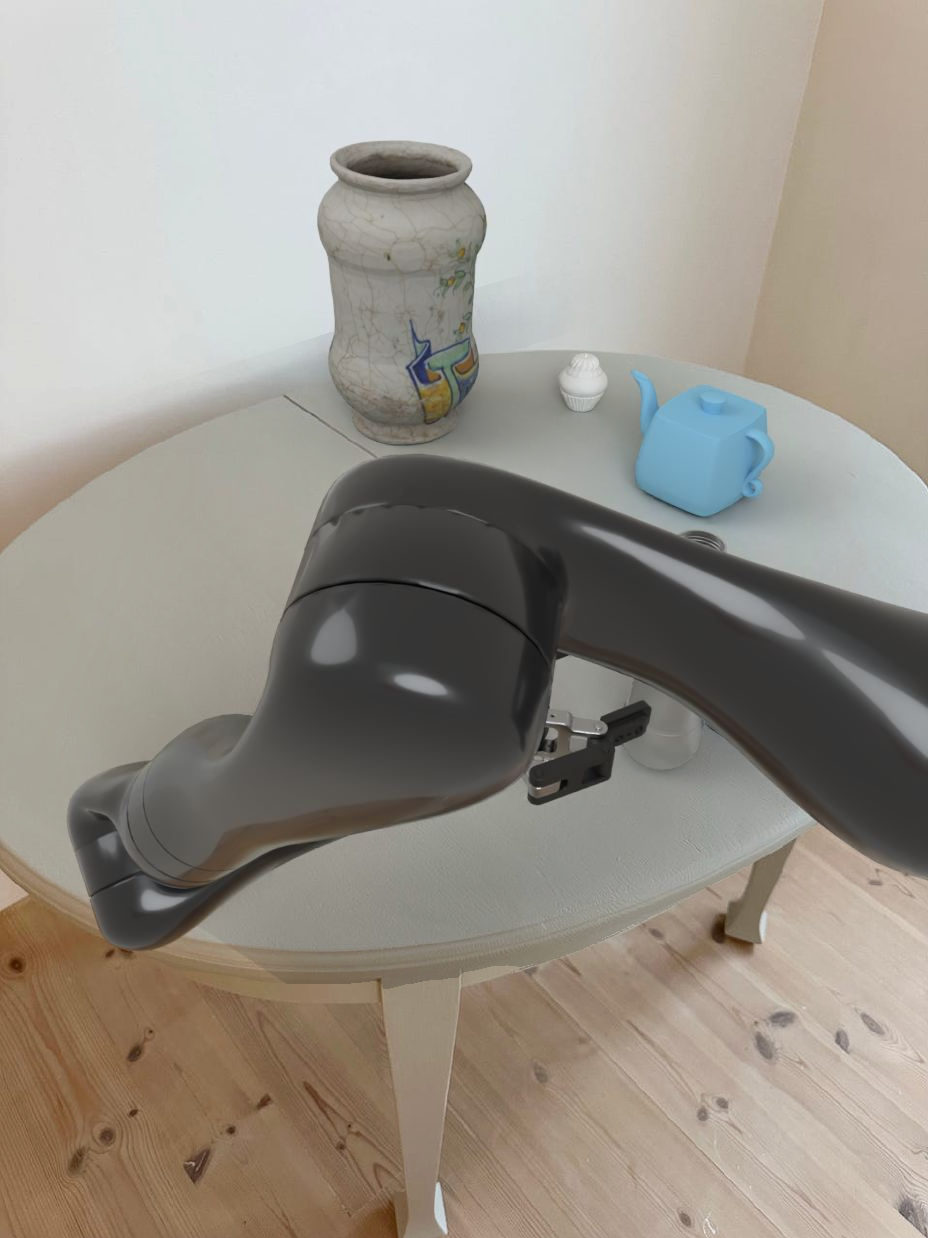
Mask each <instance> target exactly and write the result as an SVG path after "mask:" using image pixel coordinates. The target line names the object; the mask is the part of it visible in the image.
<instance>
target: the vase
mask: <svg viewBox="0 0 928 1238" xmlns="http://www.w3.org/2000/svg"><path fill="white" fill-rule="evenodd" d="M329 166H330V170H331V171H332V172H333V173H334V175H335V176H336V177H337V178H338V179H337V181H335V182H334V183H333V184H332V185H331V187H329V188H328V190H327V191H326V192H325V194H324V195H323V197H322V199H321V201H320V203H319V205H318V210H317V216H316V217H317V218H316V219H317V220H316V223H317V226H316V227H317V231H318V236H319V239H320V243H321V245H322V247H323V250H324V251H325V253H326V256H327V263H328V270H329V271H328V273H329V281H330V282H329V283H330V290H331V297H332V303H333V315H334V317H333V319H334V334H333V336H332V340H331V343H330V346H329V350H328V358H327V359H328V363H327V364H328V370H329V373H330V377H331V381H332V382H333V384H334V387H335V389H336V391H337V392H338V393H339V395H340V396H341V397H342V399H343V400H344V402H345V403H346V404H347V405H348V406H349V407H350V408H352V409H353V410H352V413H351V414H352V416H351V417H352V422H353V424H354V426H355V428H356V429H357V431H358V432H359V433H361V434H362V435H363V436H365V437H367V438H368V439H370V440H373V441H376V442H378V443H384V444H387V445H413V444H424V443H427V442H433V441H435V440H437V439H440V438H441V437H443V436H446V435H447V434H448V433H449V432H451V431H452V430H453V429H454V428H455V426H456V424H457V422H458V412H457V410H456V408H457V406H459V405H460V404H461V403H462V402H463V401H464V400H465V398H466V397H467V396H468V395H469V393H470V392H471V390H472V389H473V387H474V385H475V383H476V380H477V378H478V375H479V369H480V360H479V359H480V357H479V356H480V355H479V350H478V346H477V341H476V338H475V335H474V333H473V315H474V312H473V311H474V299H475V297H474V296H475V285H476V284H475V283H476V264H477V263H476V262H477V258H478V255H479V253H480V251H481V249H482V247H483V244H484V242H485V239H486V235H487V227H488V220H487V213H486V210H485V206H484V204H483V202H482V200H481V198H480V197H479V196H478V195H477V194H476V192H475V190H474V189H473V188H472V187H471V186H470V185H469V184H468V183H467V182H466V181H467V179H468V178H469V177H470V175H471V173H472V171H473V162H472V160H471V158H470V157H469V156H468V155H467V154H465V153H464V152H462V151H460V150H459V149H457V148H453V147H449V146H446V145H442V144H436V143H430V142H421V141H414V140H375V141H374V140H373V141H372V140H371V141H361V142H356V143H352V144H348V145H344V146H343V147H340V148H338V149H336V150H335V151H334V152H333V153H331V155H330V156H329Z"/></svg>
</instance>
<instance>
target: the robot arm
mask: <svg viewBox="0 0 928 1238" xmlns="http://www.w3.org/2000/svg"><path fill="white" fill-rule="evenodd" d="M677 534H678V533H674V532H672V531H669V530H666V529H664V528H661V527H658V526H656V525H654V524H651V523H648V522H647V521H644V520H640V519H638V518H635V517H633V516H630V515H628V514H626V513H623V512H620V511H617V510H615V509H612V508H609V507H607V506H605V505H603V504H599V503H597V502H594V501H592V500H589V499H587V498H584V497H582V496H579V495H576V494H574V493H571V492H568V491H567V490H563V489H561V488H558V487H555V486H552V485H550V484H547V483H544V482H542V481H539V480H536V479H533V478H530V477H527V476H524V475H522V474H521V475H520V474H518V473H514V472H512V471H508V470H507V469H506V470H505V469H502V468H499V467H496V466H493V465H489V464H486V463H482V462H479V461H473V460H470V459H465V458H459V457H451V456H445V455H444V456H443V455H436V454H428V453H427V454H426V453H404V454H401V453H400V454H387V455H383V456H379V457H376V458H371V459H369V460H365V461H362V462H360V463H358V464H356V465H355V466H353V467H351V468H350V469H348V470H347V471H345V472H343V473H342V474H341V475H340V476H339V477H337V479H335V481H334V482H333V483H332V484H331V486H330V487H329V488H328V491H327V492H326V494H325V496H324V498H323V499H322V501H321V503H320V506H319V509H318V511H317V514H316V517H315V520H314V522H313V524H312V526H311V530H310V532H309V536H308V538H307V541H306V544H305V546H304V550H303V554H302V557H301V561H300V563H299V565H298V568H297V572H296V574H295V577H294V581H293V584H292V586H291V589H290V592H289V595H288V597H287V600H286V603H285V607H284V609H283V612H282V614H281V618H280V620H279V622H278V624H277V627H276V630H275V634H274V637H273V640H272V641H273V642H272V645H271V650H270V654H269V655H270V656H269V662H268V663H269V664H268V673H267V678H266V682H265V686H264V689H263V692H262V695H261V697H260V700H259V702H258V704H257V706H256V709H255V710H254V712H253V714H252V715H250V714H245V713H244V714H243V713H229V714H220V715H217V716H214V717H209V718H205V719H203V720H201V721H200V722H197V723H195V724H193V725H191V726H189V727H187V728H186V729H185V730H183V731H182V732H180V733H179V734H178V735H177V736H176V737H174V738H173V739H172V740H171V741H169V742H168V743H167V744H166V745H165V746H164V747H163V748H162V749H161V750H160V751H159V752H158V753H157V754H156V755H155V756H154V757H153V758H152V759H151V760H142V761H135V762H129V763H125V764H121V765H117V766H114V767H110V768H108V769H105V770H103V771H100V772H99V773H97V774H94V775H93V776H91V777H90V778H88V779H87V780H85V781H84V782H83V783H82V784H81V785H79V786H78V787H77V788H76V790H74V792H73V794H72V795H71V797H70V799H69V802H68V806H67V810H66V828H67V832H68V833H67V834H68V836H69V840H70V843H71V846H72V851H73V852H74V856H75V859H76V862H77V865H78V868H79V871H80V874H81V877H82V880H83V884H84V886H85V889H86V892H87V896H88V897H89V898H90V899H89V902H90V906H91V909H92V913H93V916H94V918H95V922H96V923H97V927H98V930H99V932H100V934H101V935H102V937H103V939H104V940H105V941H106V942H107V943H108V944H110V945H111V946H113V947H115V948H117V949H120V950H124V951H127V952H147V951H154V950H157V949H160V948H164V947H166V946H168V945H170V944H172V943H174V942H176V941H178V940H179V939H181V938H182V937H184V936H185V935H187V934H188V933H190V932H191V931H193V930H194V929H195V928H196V927H197V926H199V925H200V924H201V923H203V922H204V921H205V920H207V919H208V918H209V917H211V916H212V915H214V913H216V912H217V911H218V910H220V909H221V908H222V907H223V906H224V905H226V903H228V902H229V901H230V900H232V899H233V898H234V897H235V896H237V895H238V894H240V893H241V892H242V891H245V889H246V888H249V886H251V885H253V883H255V882H257V881H258V880H260V879H261V878H262V877H264V876H266V875H267V874H269V873H270V872H272V871H274V870H276V869H278V868H279V867H281V866H283V865H285V864H286V863H288V862H290V861H292V860H294V859H296V858H299V857H301V856H303V855H306V854H307V853H310V852H313V851H314V850H316V849H320V848H322V847H325V846H327V845H329V844H332V843H335V842H336V841H339V840H341V839H344V838H347V837H349V836H353V835H357V834H363V833H367V832H368V833H369V832H373V831H378V830H383V829H388V828H394V827H399V826H404V825H408V824H412V823H417V822H422V821H428V820H432V819H436V818H440V817H443V816H448V815H451V814H454V813H458V812H460V811H463V810H466V809H470V808H472V807H474V806H476V805H478V804H481V803H484V802H486V801H488V800H490V799H492V798H494V797H495V796H496V797H497V795H500V794H502V793H503V792H505V791H506V790H507V789H508V788H510V787H512V786H513V785H514V784H515V783H517V782H519V780H520V779H522V781H523V782H524V784H525V786H526V787H527V795H526V798H527V802H529V804H531V805H533V806H541V805H545V804H547V803H550V802H553V801H555V800H558V799H562V798H563V797H566V796H569V795H571V794H574V793H577V792H580V791H582V790H585V789H588V788H591V787H593V786H596V785H599V784H602V783H604V782H607V781H609V780H610V779H611V778H612V773H613V767H614V761H615V755H616V747H618V746H621V745H623V743H626V742H628V741H629V740H630V741H631V740H633V739H634V738H638V737H640V736H642V735H643V734H644V733H645V732H646V729H647V726H648V724H649V720H650V715H651V710H652V708H651V707H650V706H649V705H648V704H647V703H646V701H644V700H641V701H638V702H636V703H633V704H631V705H628V706H626V707H624V706H623V707H621V708H619V709H616V710H613V711H611V712H608V713H606V714H604V715H601V716H600V717H599V718H600V719H599V720H598V719H590V718H583V717H576V716H573V714H572V713H571V712H570V711H568V710H564V709H553V708H551V706H550V703H551V697H552V688H553V682H554V676H555V669H556V662H557V661H559V660H562V659H564V658H567V657H570V656H571V657H575V658H577V659H581V660H583V661H586V662H588V663H592V664H594V665H597V666H600V667H603V668H606V669H608V670H610V671H613V672H616V673H619V674H621V675H624V676H626V677H629V678H631V679H633V680H634V679H636V680H638V681H640V682H642V683H645V684H647V685H649V686H651V687H653V688H655V689H657V690H658V691H660V692H662V693H663V694H665V695H667V696H669V697H670V698H672V699H674V700H675V701H677V702H678V703H680V704H681V705H683V706H684V707H686V708H687V709H688V710H690V711H691V712H693V713H694V714H696V715H697V716H698V717H700V718H701V719H702V720H703V721H704V723H705V722H706V723H707V724H708V725H709V726H710V727H712V728H713V729H714V730H715V731H716V732H715V731H714V732H715V733H717V732H718V733H719V734H718V733H717V734H718V735H720V736H721V737H722V738H723V739H724V740H725V741H727V742H728V743H729V744H730V745H731V746H733V747H734V748H735V749H736V750H737V751H738V752H739V753H740V755H742V756H743V757H744V758H745V759H746V760H748V761H749V762H750V763H751V765H753V766H754V767H755V768H756V769H757V770H758V771H759V772H760V773H761V774H763V775H764V776H765V778H767V779H768V780H769V781H770V782H771V783H772V784H773V785H774V786H775V787H777V788H778V789H779V790H780V791H781V792H782V794H785V796H787V797H788V799H790V800H791V801H792V802H793V803H795V804H796V805H797V807H799V808H800V809H802V811H804V812H805V813H806V814H807V815H809V816H810V817H811V818H812V819H813V820H815V821H816V822H817V823H818V824H819V825H821V827H823V828H824V829H826V830H827V831H828V832H830V833H831V834H833V835H834V836H835V837H837V838H839V839H840V840H841V841H843V842H844V843H845V844H847V845H848V846H850V847H851V848H852V849H854V850H855V851H857V852H858V853H859V854H861V855H863V856H864V857H866V858H868V859H869V860H871V861H873V862H874V863H876V864H878V865H881V866H883V867H886V868H888V869H890V870H893V871H895V872H899V873H902V874H905V875H909V876H912V877H915V878H918V879H921V880H925V881H928V613H927V612H924V611H919V610H917V609H912V608H909V607H904V606H901V605H897V604H894V603H890V602H887V601H883V600H880V599H877V598H873V597H869V596H867V595H863V594H859V593H857V592H853V591H850V590H847V589H843V588H840V587H837V586H834V585H830V584H827V583H824V582H821V581H817V580H813V579H810V578H806V577H804V576H800V575H796V574H793V573H789V572H787V571H785V570H780V569H777V568H774V567H771V566H767V565H764V564H761V563H757V562H755V561H752V560H749V559H747V558H744V557H743V558H742V557H740V556H737V555H734V554H731V553H729V552H727V553H726V552H723V551H720V550H718V549H715V548H712V547H709V546H706V545H704V544H701V543H698V542H696V541H693V540H690V539H688V538H685V537H682V536H680V535H677ZM706 723H705V724H706ZM707 724H706V725H707ZM708 725H707V726H708ZM709 726H708V727H709ZM710 727H709V728H710ZM550 729H553V730H555V731H556V732H557V737H556V738H553V739H548V738H547V736H548V734H549V731H550ZM572 736H573V737H572ZM577 737H581V738H577ZM535 757H539V758H542V759H535Z"/></svg>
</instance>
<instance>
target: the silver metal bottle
mask: <svg viewBox="0 0 928 1238" xmlns="http://www.w3.org/2000/svg"><path fill="white" fill-rule="evenodd" d="M676 534H677V535H680V536H682V537H685V538H688V539H690V540H693V541H696V542H698V543H701V544H704V545H706V546H709V547H712V548H715V549H718V550H720V551H723V552H726V553H728V552H727V551H728V546H727V544H726V542H725V541H724V540H723V538H721V537H720V536H719V535H718V534H715V533H714V532H711V531H708V530H704V529H686V530H683V531H681V532H679V533H676ZM641 700H644V701H646V703H647V704H648V705H649V706H650V707H651V708H652V710H651V715H650V720H649V724H648V726H647V729H646V732H645V733H644V734H643V735H642V736H640V737H638V738H634V739H633V740H631V741H630V740H629V741H628V742H626V743H623V744H622V746H623V748H624V750H625V751H626V752H627V754H628V755H629V756H630V757H631V758H632V759H633V760H634V761H636V762H637V763H638V764H640V765H642V766H644V767H646V768H649V769H654V770H659V771H665V770H673V769H676V768H677V767H679V766H682V765H684V764H686V763H687V762H689V761H690V760H691V759H692V758H693V757H694V755H695V754H696V752H697V750H698V748H699V746H700V744H701V742H702V739H703V734H704V724H705V722H704V721H703V720H702V719H701V718H700V717H698V716H697V715H696V714H694V713H693V712H691V711H690V710H688V709H687V708H686V707H684V706H683V705H681V704H680V703H678V702H677V701H675V700H674V699H672V698H670V697H669V696H667V695H665V694H663V693H662V692H660V691H658V690H657V689H655V688H653V687H651V686H649V685H647V684H645V683H642V682H640V681H638V680H636V679H634V678H633V681H632V685H631V689H630V692H629V694H628V696H627V698H626V700H625V702H624V703H623V704H624V705H623V707H626V706H628V705H631V704H633V703H636V702H638V701H641Z"/></svg>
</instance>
